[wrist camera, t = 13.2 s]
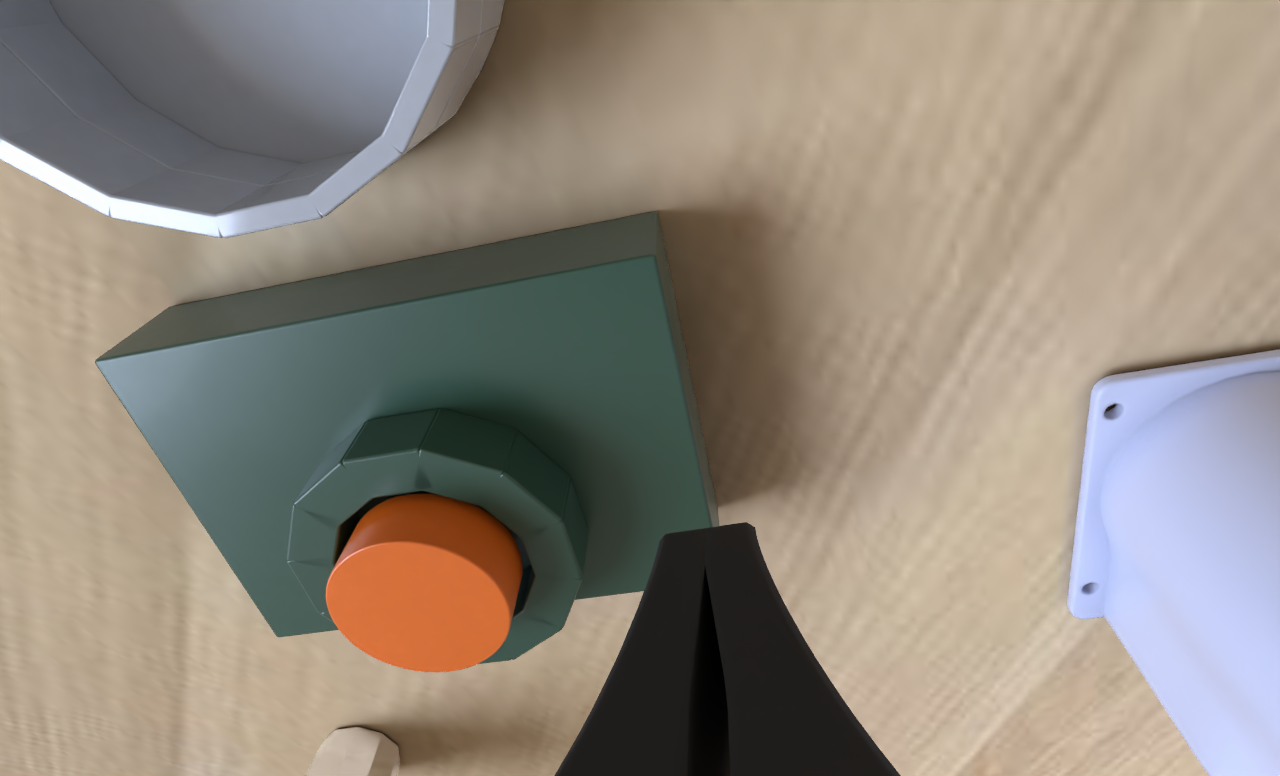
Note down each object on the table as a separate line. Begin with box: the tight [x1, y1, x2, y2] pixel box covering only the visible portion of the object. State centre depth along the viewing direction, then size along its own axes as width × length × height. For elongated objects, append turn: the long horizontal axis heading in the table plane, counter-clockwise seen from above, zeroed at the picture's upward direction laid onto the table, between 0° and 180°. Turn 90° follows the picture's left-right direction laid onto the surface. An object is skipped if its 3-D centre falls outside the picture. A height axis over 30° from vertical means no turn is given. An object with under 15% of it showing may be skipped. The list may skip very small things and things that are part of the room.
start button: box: [326, 493, 523, 672], centre depth 18 cm, size 4×4×2 cm
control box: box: [95, 212, 719, 664], centre depth 20 cm, size 10×14×5 cm
